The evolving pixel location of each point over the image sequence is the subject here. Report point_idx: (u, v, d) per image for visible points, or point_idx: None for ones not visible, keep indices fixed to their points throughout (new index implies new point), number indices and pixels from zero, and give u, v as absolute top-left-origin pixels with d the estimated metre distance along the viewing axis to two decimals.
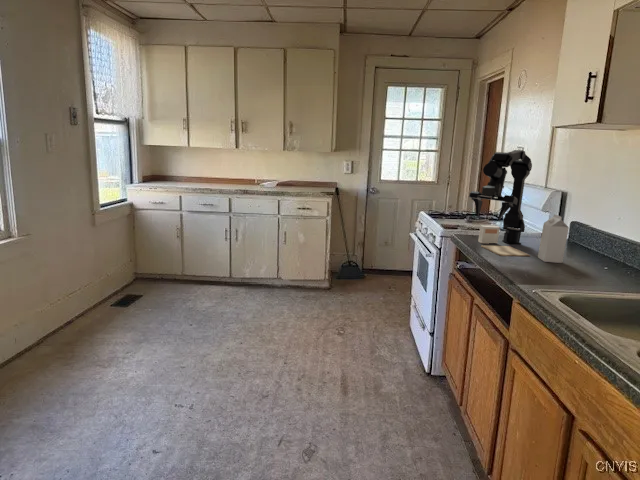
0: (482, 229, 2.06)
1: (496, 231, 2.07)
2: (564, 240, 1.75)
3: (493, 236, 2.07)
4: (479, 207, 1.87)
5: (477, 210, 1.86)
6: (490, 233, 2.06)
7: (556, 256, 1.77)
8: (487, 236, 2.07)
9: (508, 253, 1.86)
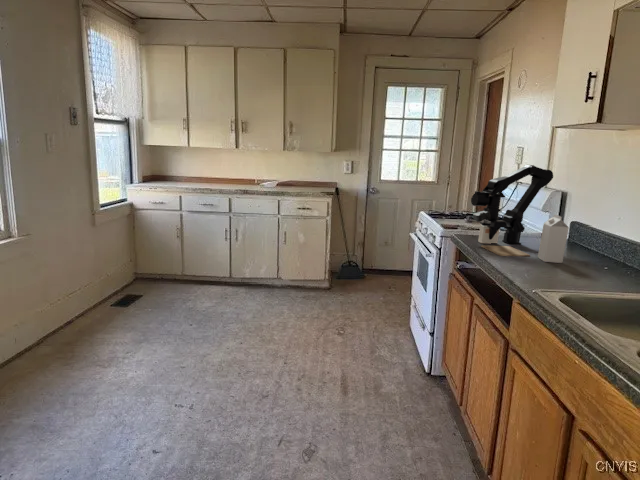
0: (482, 229, 2.06)
1: None
2: (564, 240, 1.75)
3: None
4: None
5: None
6: None
7: (556, 256, 1.77)
8: (487, 236, 2.07)
9: (508, 253, 1.86)
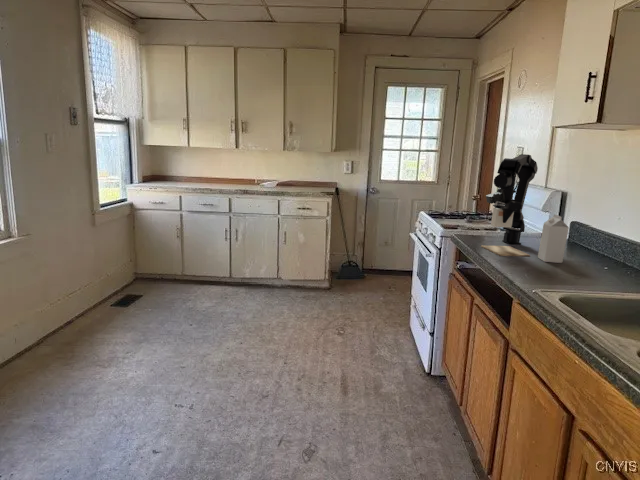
0: (495, 211, 1.93)
1: None
2: (564, 240, 1.75)
3: None
4: None
5: None
6: None
7: (556, 256, 1.77)
8: (501, 219, 1.93)
9: (508, 253, 1.86)
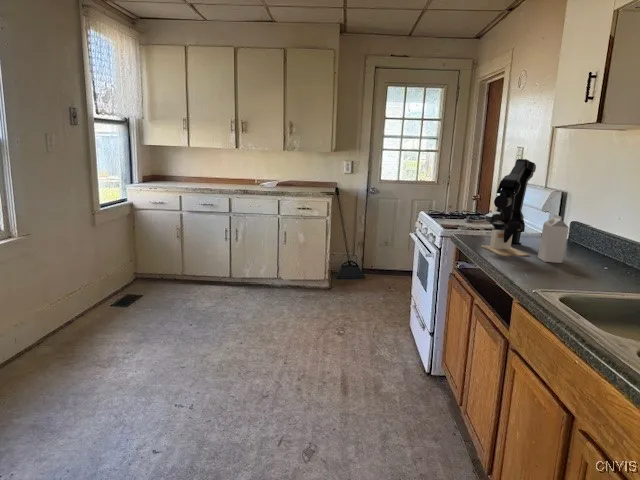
0: (494, 233, 1.94)
1: None
2: (564, 240, 1.75)
3: None
4: None
5: None
6: (503, 238, 1.94)
7: (556, 256, 1.77)
8: (500, 241, 1.94)
9: (508, 253, 1.86)
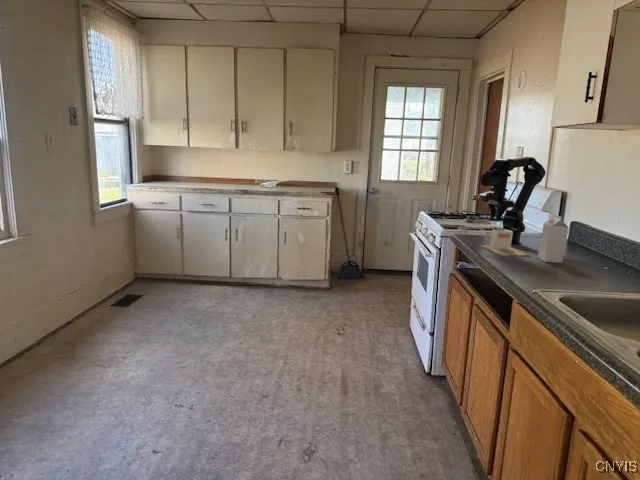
0: (494, 233, 1.94)
1: (509, 235, 1.94)
2: (564, 240, 1.75)
3: (506, 241, 1.94)
4: (493, 210, 2.03)
5: (490, 214, 2.03)
6: (503, 238, 1.94)
7: (556, 256, 1.77)
8: (500, 241, 1.94)
9: (508, 253, 1.86)
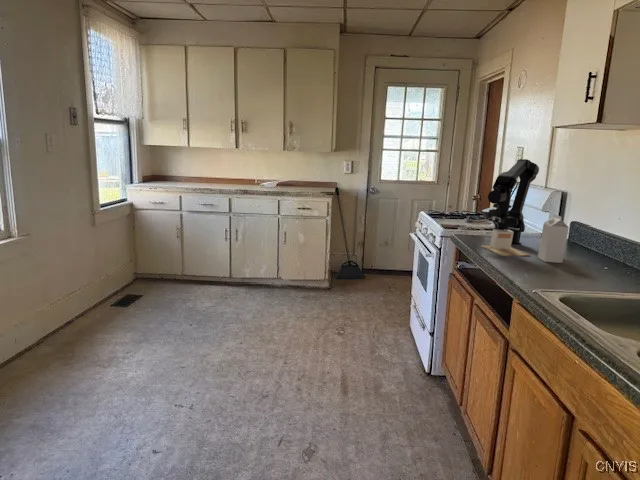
0: (495, 233, 1.93)
1: (510, 236, 1.93)
2: (564, 240, 1.75)
3: (506, 241, 1.94)
4: None
5: None
6: (503, 238, 1.93)
7: (556, 256, 1.77)
8: (500, 241, 1.93)
9: (508, 253, 1.86)
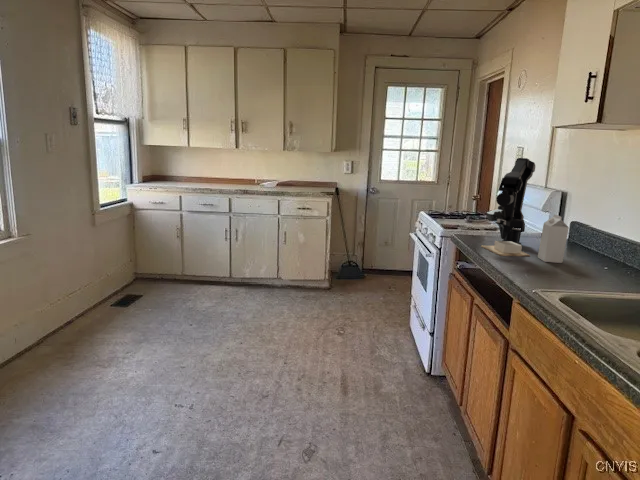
0: (502, 249, 1.88)
1: None
2: (564, 240, 1.75)
3: None
4: None
5: (501, 233, 1.94)
6: None
7: (556, 256, 1.77)
8: None
9: (508, 253, 1.86)
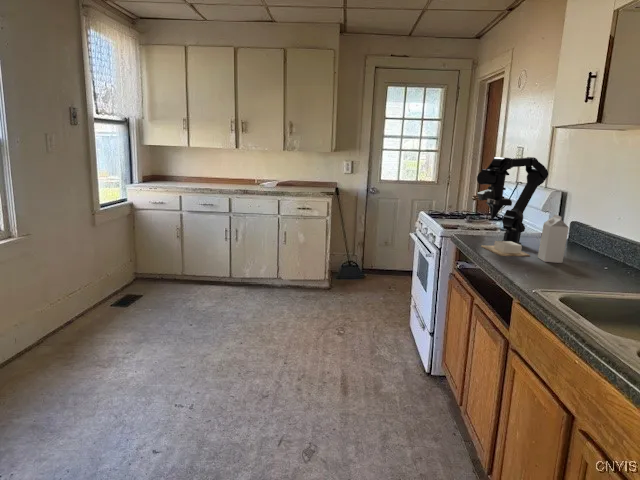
0: (502, 249, 1.88)
1: None
2: (564, 240, 1.75)
3: None
4: None
5: (491, 213, 2.03)
6: None
7: (556, 256, 1.77)
8: None
9: (508, 253, 1.86)
